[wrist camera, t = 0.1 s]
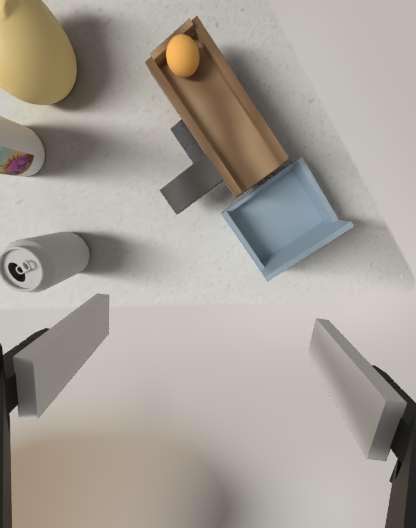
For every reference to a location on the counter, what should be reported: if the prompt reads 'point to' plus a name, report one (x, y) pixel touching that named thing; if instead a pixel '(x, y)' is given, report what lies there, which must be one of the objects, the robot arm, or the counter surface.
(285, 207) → the box
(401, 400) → the robot arm
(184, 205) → the seesaw chute
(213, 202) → the counter surface
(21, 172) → the milk bottle
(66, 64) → the sculpture
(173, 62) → the ball
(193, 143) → the pivot stand
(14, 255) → the can
